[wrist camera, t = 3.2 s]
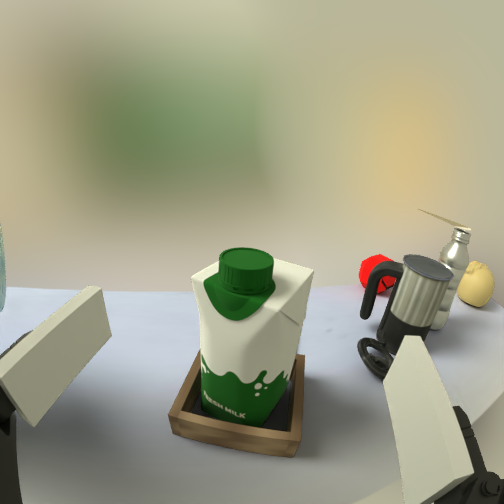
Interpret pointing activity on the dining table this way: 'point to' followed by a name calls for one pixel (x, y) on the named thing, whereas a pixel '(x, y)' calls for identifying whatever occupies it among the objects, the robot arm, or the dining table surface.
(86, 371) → the dining table surface
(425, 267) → the milk frother
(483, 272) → the pale yellow rounded lump
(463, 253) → the plastic bottle
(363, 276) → the ball
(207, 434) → the holder
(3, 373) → the robot arm
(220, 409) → the soya milk
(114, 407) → the dining table surface
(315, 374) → the dining table surface
